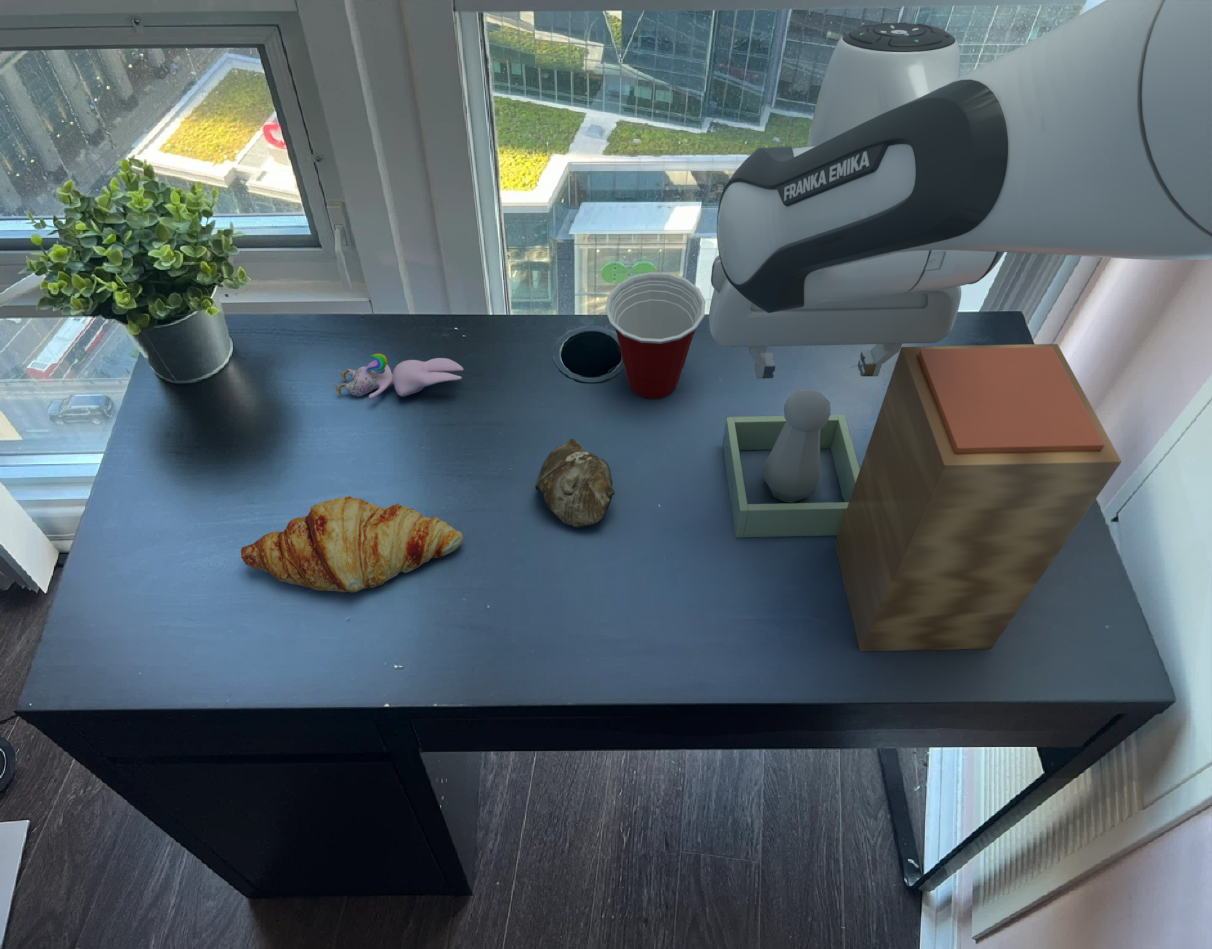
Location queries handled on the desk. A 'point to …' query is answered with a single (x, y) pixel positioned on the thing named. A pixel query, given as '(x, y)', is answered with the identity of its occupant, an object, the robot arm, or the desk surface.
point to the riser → (954, 522)
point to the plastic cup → (654, 328)
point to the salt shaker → (798, 447)
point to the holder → (792, 515)
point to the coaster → (1008, 400)
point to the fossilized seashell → (576, 485)
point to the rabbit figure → (399, 376)
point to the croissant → (351, 545)
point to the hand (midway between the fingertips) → (815, 372)
